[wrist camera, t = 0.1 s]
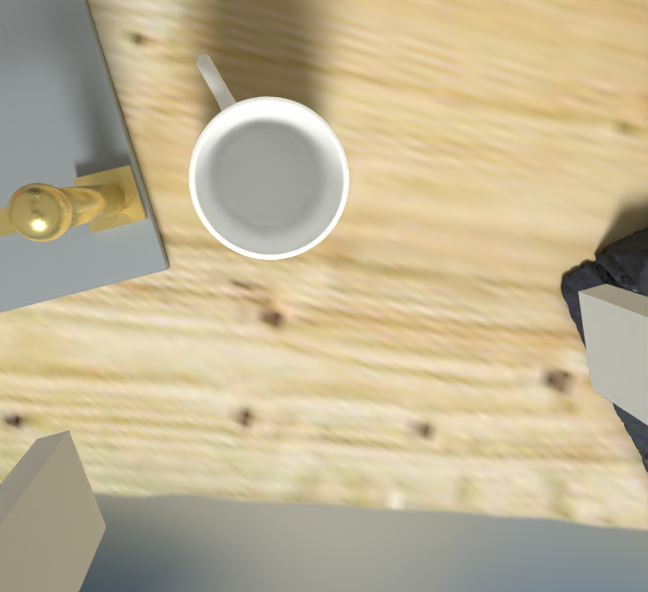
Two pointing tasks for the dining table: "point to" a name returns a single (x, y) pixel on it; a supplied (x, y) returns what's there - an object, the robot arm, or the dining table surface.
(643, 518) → the dining table surface
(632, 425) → the dark slate chunk
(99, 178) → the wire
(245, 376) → the dining table surface
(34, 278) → the board
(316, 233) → the mug
